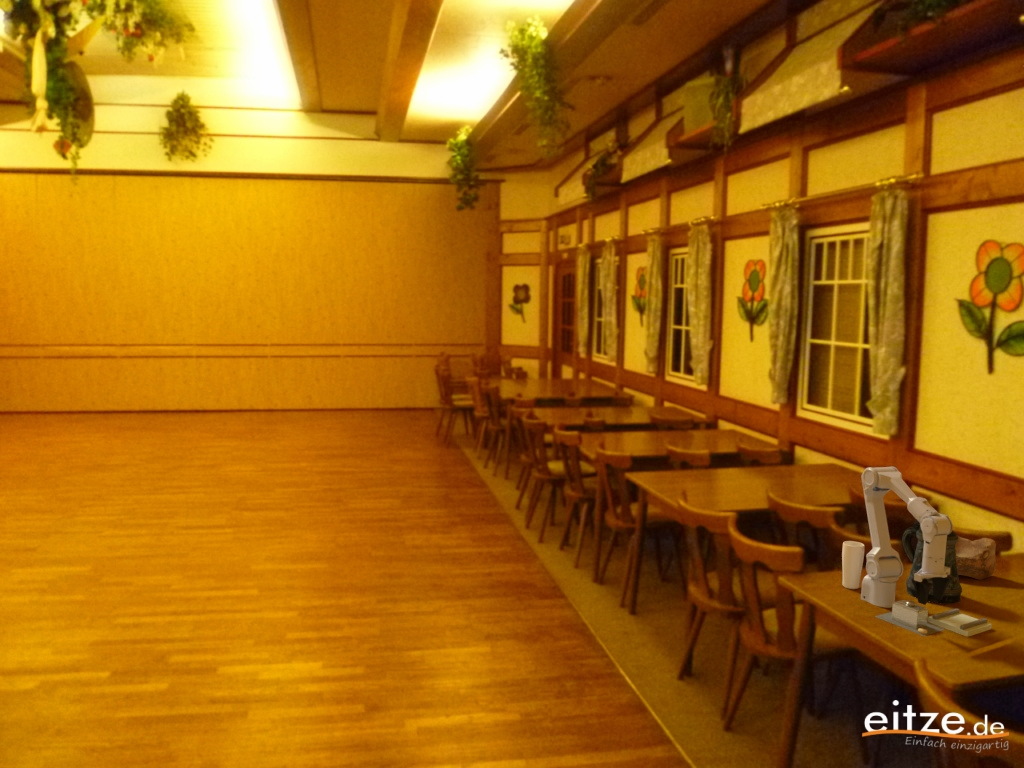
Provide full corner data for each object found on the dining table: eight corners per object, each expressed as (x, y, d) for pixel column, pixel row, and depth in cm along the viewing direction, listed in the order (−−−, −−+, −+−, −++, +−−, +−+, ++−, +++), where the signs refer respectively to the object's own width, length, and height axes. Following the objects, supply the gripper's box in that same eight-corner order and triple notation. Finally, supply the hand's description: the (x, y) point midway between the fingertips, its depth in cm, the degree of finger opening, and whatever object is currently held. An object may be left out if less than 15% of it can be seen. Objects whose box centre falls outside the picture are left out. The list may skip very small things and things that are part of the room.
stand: (927, 624, 240) (928, 613, 240) (951, 617, 246) (952, 606, 246) (966, 640, 230) (968, 628, 230) (990, 632, 236) (991, 620, 236)
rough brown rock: (912, 574, 289) (916, 534, 286) (924, 559, 302) (928, 521, 299) (986, 592, 274) (991, 550, 271) (995, 576, 287) (1000, 536, 284)
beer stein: (956, 608, 254) (963, 531, 252) (890, 593, 266) (896, 520, 263) (965, 594, 267) (971, 520, 265) (901, 580, 279) (907, 510, 276)
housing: (891, 619, 241) (893, 599, 241) (901, 616, 244) (903, 596, 243) (916, 629, 234) (917, 608, 234) (926, 626, 237) (928, 605, 236)
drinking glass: (855, 583, 275) (858, 540, 273) (865, 590, 268) (868, 546, 267) (836, 583, 275) (839, 540, 273) (845, 590, 268) (848, 546, 266)
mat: (874, 619, 244) (874, 613, 243) (894, 613, 249) (895, 607, 248) (923, 639, 230) (924, 632, 230) (944, 633, 235) (945, 626, 235)
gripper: (932, 563, 227) (928, 610, 229) (961, 556, 234) (957, 601, 236) (908, 556, 233) (905, 601, 235) (938, 549, 240) (934, 593, 242)
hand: (929, 601), depth 236 cm, fingers open, 7 cm apart
